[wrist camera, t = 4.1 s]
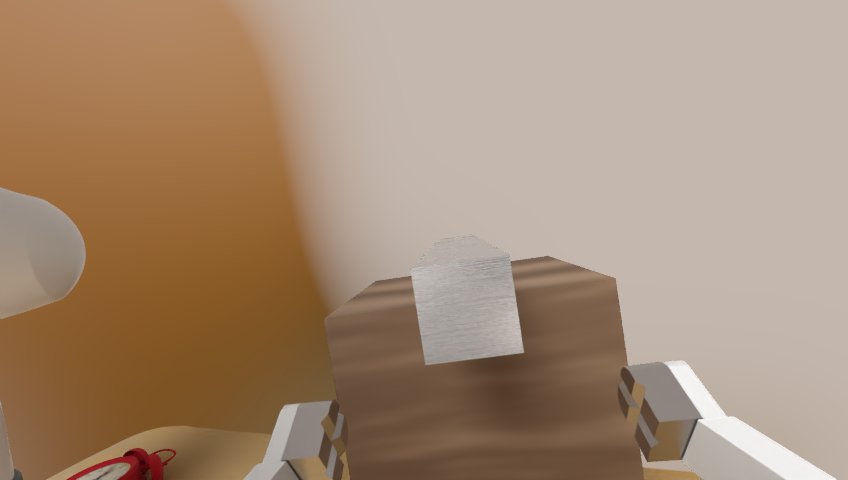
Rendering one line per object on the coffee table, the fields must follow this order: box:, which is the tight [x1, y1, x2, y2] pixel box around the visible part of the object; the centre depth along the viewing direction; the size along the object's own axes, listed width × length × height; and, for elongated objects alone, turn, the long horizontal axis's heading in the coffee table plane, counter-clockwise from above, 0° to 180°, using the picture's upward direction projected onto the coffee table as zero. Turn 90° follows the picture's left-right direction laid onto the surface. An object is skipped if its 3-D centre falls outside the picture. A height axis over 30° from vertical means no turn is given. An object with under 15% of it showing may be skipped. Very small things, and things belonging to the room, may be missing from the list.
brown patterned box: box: [324, 256, 644, 480], centre depth 27 cm, size 14×17×26 cm
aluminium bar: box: [410, 235, 524, 365], centre depth 22 cm, size 22×3×3 cm, turn 175°
